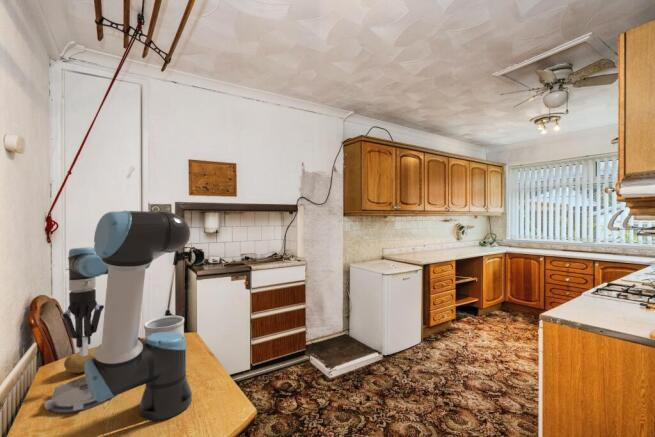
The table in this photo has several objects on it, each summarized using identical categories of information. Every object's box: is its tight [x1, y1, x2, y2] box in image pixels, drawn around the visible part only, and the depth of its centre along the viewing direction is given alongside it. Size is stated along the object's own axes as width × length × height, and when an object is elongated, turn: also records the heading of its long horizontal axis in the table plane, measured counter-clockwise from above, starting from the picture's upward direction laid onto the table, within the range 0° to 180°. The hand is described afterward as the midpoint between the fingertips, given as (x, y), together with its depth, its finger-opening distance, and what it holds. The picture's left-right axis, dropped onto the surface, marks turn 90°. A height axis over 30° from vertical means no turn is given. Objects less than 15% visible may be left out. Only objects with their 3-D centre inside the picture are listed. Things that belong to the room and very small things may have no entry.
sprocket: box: [44, 376, 97, 411], centre depth 104 cm, size 21×20×7 cm
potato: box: [63, 346, 98, 374], centre depth 121 cm, size 10×14×8 cm
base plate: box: [49, 398, 112, 415], centre depth 104 cm, size 19×19×1 cm
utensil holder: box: [143, 315, 185, 340], centre depth 127 cm, size 15×15×18 cm
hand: (83, 354), depth 110 cm, fingers closed
